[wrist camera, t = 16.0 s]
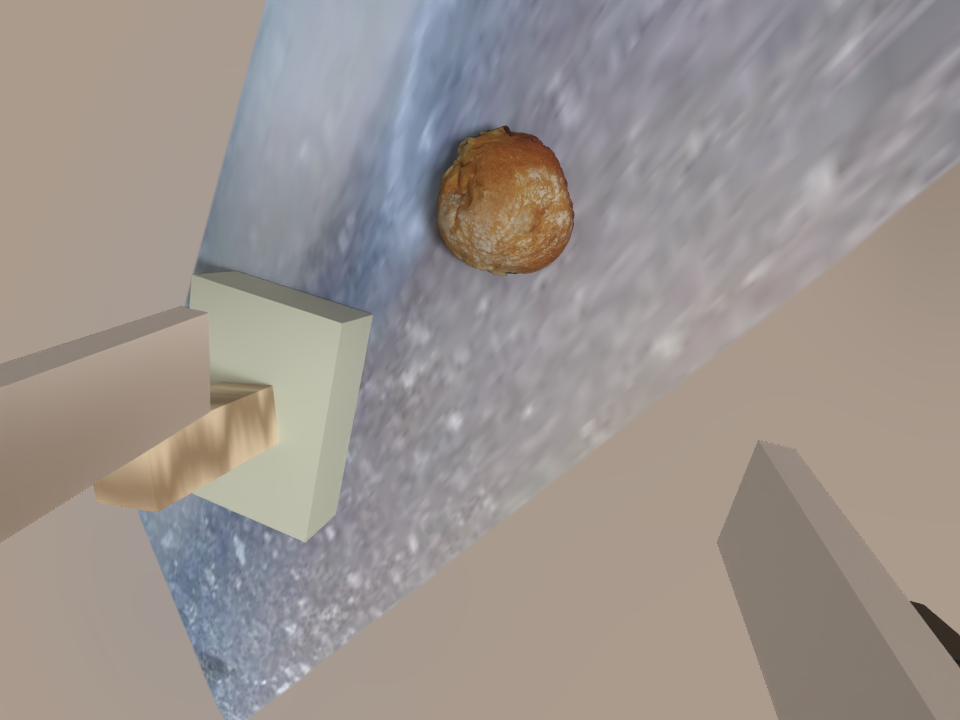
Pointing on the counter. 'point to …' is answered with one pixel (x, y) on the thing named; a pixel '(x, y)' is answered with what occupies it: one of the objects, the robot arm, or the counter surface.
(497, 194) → the bread roll
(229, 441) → the birch block
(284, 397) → the block
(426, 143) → the counter surface
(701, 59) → the counter surface
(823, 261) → the counter surface
